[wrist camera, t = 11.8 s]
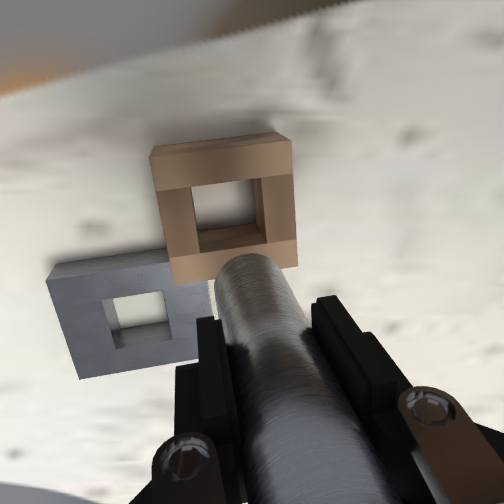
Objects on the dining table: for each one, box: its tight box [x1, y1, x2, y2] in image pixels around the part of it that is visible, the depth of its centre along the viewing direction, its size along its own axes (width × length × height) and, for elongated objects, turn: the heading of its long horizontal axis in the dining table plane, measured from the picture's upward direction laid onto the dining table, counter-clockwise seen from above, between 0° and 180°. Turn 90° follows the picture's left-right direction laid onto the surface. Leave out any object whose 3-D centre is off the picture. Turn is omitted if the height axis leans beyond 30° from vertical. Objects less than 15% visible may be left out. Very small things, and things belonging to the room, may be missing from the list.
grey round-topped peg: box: [214, 253, 403, 504], centre depth 11 cm, size 3×3×12 cm
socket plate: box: [45, 248, 213, 380], centre depth 29 cm, size 10×8×2 cm
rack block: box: [149, 132, 298, 285], centre depth 26 cm, size 8×8×4 cm
